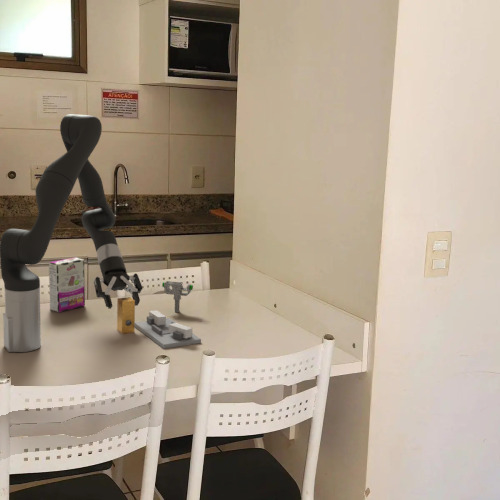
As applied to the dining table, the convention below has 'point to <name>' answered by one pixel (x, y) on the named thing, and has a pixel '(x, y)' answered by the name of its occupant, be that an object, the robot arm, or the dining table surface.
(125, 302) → the block
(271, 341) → the dining table surface
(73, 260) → the candy bar box
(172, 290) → the mechanical component
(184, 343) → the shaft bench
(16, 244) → the robot arm
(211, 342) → the dining table surface
